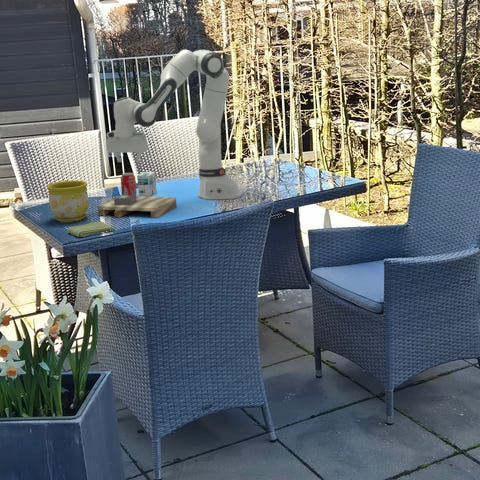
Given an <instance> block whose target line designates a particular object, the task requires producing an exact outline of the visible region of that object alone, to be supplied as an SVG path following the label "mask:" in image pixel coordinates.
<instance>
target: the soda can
mask: <svg viewBox="0 0 480 480" xmlns="http://www.w3.org/2000/svg"><path fill="white" fill-rule="evenodd" d="M120 188H121V195H135V196H138V195H137V180H136V176H135V174H134V172H124V173H122V174H121V176H120Z"/></svg>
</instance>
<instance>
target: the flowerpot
mask: <svg viewBox="0 0 480 480" xmlns="http://www.w3.org/2000/svg"><path fill="white" fill-rule="evenodd" d="M87 186H88V182H87V181H85V180H76V179H75V180H63V181H58V182H57V181H56V182H52V183H49V184H48V185H47V186H46V189H47V190H48V204H49V208H50V211H51V212H52V214H53V215H54V219H55V220H56V221H57V222H59V221H60V222H59V223H74V222H73V221H76V222H80V221H82V219H83V220H85V218H86V216H87V214H86V213H87V211H88V208H89V203H90V202H89V201H90V200H89V195H88V188H87ZM79 220H80V221H79Z"/></svg>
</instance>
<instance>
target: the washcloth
mask: <svg viewBox="0 0 480 480" xmlns="http://www.w3.org/2000/svg"><path fill="white" fill-rule="evenodd" d="M110 230H113V231H115V230H116V229H115V227H113V226H112V225H110V224H109V223H105V222H104V221H98V222H97V221H94V222H90V223H85V224H81V225H80V224H79V225H74V226H71V227H69V228H67V229H66V232H67V234H69V233H70V234H69V235H72V236H75V237H76V236H77V237H76V238H78V237H83V238H86V237H85V236H88V237H90V236H89V235H93V234H97V233H101V232H105V233H107V232H106V231H110ZM110 232H111V231H110ZM101 234H102V233H101ZM97 235H98V234H97ZM93 236H94V235H93Z"/></svg>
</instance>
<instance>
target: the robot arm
mask: <svg viewBox="0 0 480 480" xmlns="http://www.w3.org/2000/svg"><path fill="white" fill-rule="evenodd" d="M195 71H196V72H199V73H200V74H204V75H205V77H206V82H205V87H204V93H203V98H202V102H201V106H200V110H199V116H198V120H197V124H196V127H195V132H196V133H195V134H196V136H197V137H198V161H199V162H198V163H199V169H198V176H199V189H198V195H197V196H198V197H199V198H202V199H203V200H234V199H238V198H241V197H242V196H243V195H244V192H243V191H241V190H239V186H238V183H237V182H236V181H235V180H234V179H233V178H232V177H230V176H229V175H227V168H225V167H223V165H222V164H223V163H222V135H221V134H222V133H221V132H222V129H221V125H222V123H221V122H222V118H223V115H224V110H225V106H226V101H227V96H228V90H229V82H230V81H229V79H230V75H229V71H228V70H227V69H226V68H224V62H223V59H222V58H221V56H220V55H219V54H218V53H216V52H214V51H211V50H208V49H207V50H206V49H202V48H198V49H195V50H193V51H191V50H190V49H189V50H188V49H182V50H180V51H179V52H177V54H176V55H175V56H173V57H172V58H171V60H169V62H168V63H167V64H166V66H165V67H164V68H163V70H162V71H161V74H160V84H159V86H158V88H157V90H156V91H155V93H154V94H153V95H152V97H151V98H150V99H149V100H148V102H146V103H144V102H140V101H136V100H135V99H132V98H131V97H130V96H126V97H120V98H118V99H116V100H115V101H114V102H113V118H114V120H115V127H114V128H115V129H114V130H112V131H109V132H107V133H106V137H107V138H106V141H105V142H106V143H105V146H106V152H108V153H109V154H110V153H111V154H112V153H113V154H114V156H115V158H116V160H117V161H116V162H117V163H122V161H123V159H122V157H120V155H119V154H120V153H121V154H122V153H136V155H137V156H136V157H135V158H134V160H135V161H134V162H136V163H140V162H141V161H140V158H141V155H142V153H146V152H147V151H148V149H149V148H148V142H147V135H146V134H145V133H144V132H136V131H135V130H136V128H135V124H138V125H139V126H141V127H143V128H148V127H152V126H153V125H154V124H155V123H156V122H157V120H158V116H159V114H160V110H161V109H162V108H163V106H164V105H165V104H166V102H167V101H168V100H169V99H170V97H171V96H172V94H173V93H174V92H176V90H178V88H179V87H181V86H182V85H183V84H184V82H185V81H186V80H187V79H188V78H189V76H190V75H191V74H192V73H193V72H195Z"/></svg>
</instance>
